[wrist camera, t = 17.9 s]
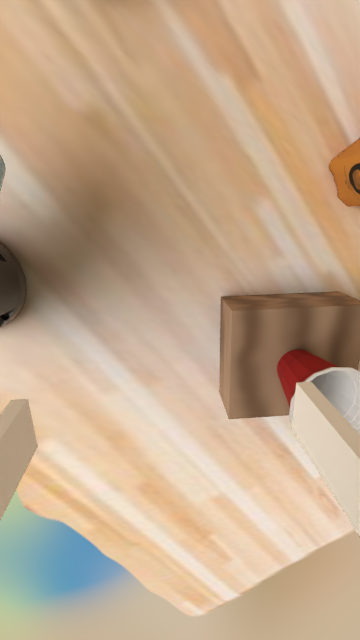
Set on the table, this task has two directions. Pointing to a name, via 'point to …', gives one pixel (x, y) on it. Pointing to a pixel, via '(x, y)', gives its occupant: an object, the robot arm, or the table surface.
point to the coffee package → (348, 174)
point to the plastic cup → (322, 382)
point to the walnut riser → (280, 344)
